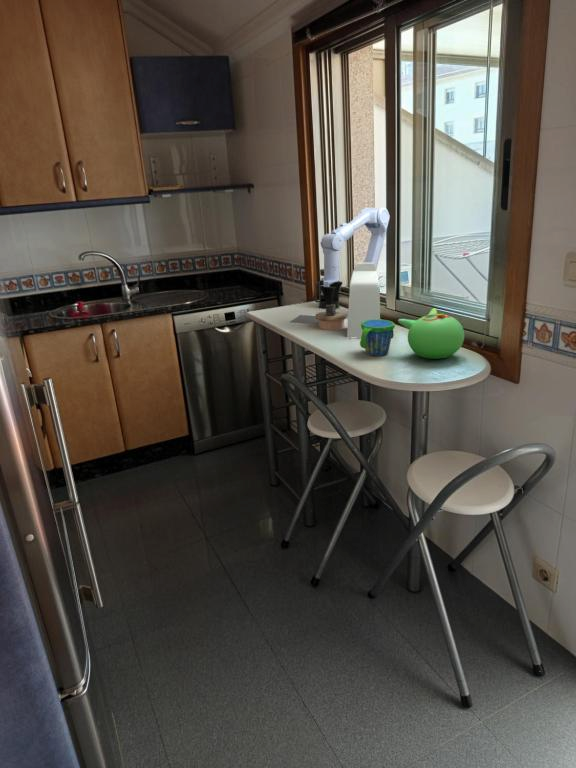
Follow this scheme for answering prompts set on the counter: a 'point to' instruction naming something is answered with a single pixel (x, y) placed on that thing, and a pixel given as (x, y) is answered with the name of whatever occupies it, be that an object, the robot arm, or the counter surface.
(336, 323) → the bowl
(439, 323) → the green teapot
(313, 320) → the mat
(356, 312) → the milk
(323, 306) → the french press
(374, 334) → the snack cup
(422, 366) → the counter surface
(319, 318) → the lid
